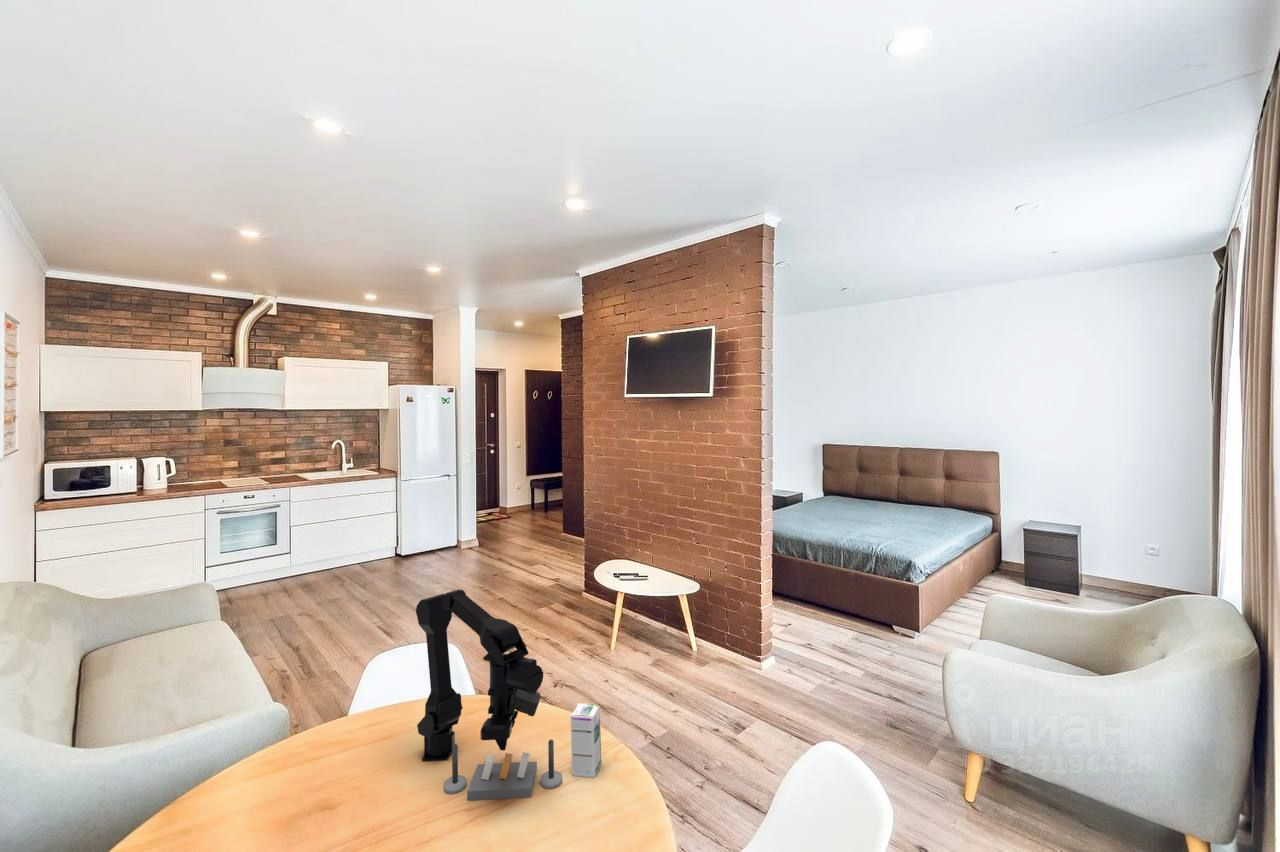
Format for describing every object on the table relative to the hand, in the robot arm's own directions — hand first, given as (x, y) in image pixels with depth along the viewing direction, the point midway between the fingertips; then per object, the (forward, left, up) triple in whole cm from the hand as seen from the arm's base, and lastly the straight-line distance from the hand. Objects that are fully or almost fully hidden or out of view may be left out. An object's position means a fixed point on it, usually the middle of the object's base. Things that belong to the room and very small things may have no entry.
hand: (503, 749), depth 126 cm
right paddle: (+4, 0, -6) cm, 7 cm away
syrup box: (+19, +4, -8) cm, 21 cm away
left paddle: (-4, 0, -6) cm, 7 cm away
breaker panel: (0, 0, -8) cm, 8 cm away
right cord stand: (+11, 0, -8) cm, 14 cm away
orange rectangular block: (0, 0, -6) cm, 6 cm away
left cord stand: (-11, 0, -8) cm, 14 cm away
